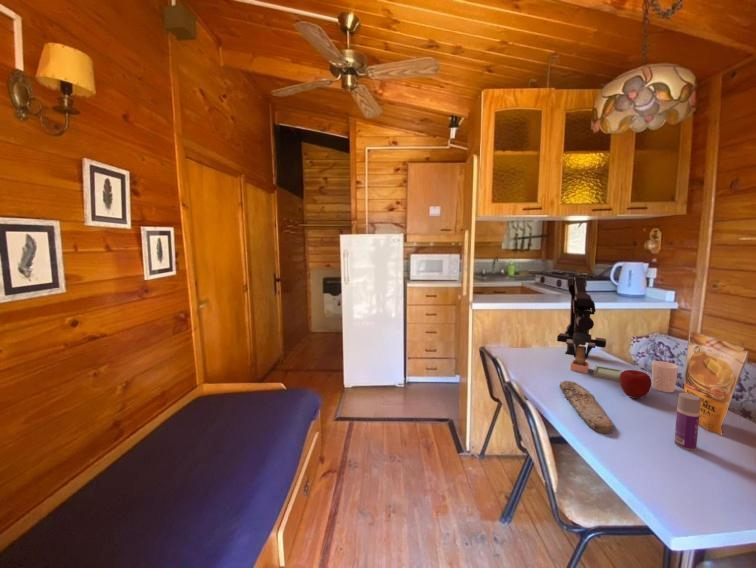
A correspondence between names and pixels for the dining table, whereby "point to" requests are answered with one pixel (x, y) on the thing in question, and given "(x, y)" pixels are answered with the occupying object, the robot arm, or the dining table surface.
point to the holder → (580, 367)
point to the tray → (607, 373)
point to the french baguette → (586, 407)
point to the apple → (635, 383)
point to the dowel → (580, 355)
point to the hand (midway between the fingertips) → (580, 358)
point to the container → (687, 421)
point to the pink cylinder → (664, 376)
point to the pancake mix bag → (713, 376)
